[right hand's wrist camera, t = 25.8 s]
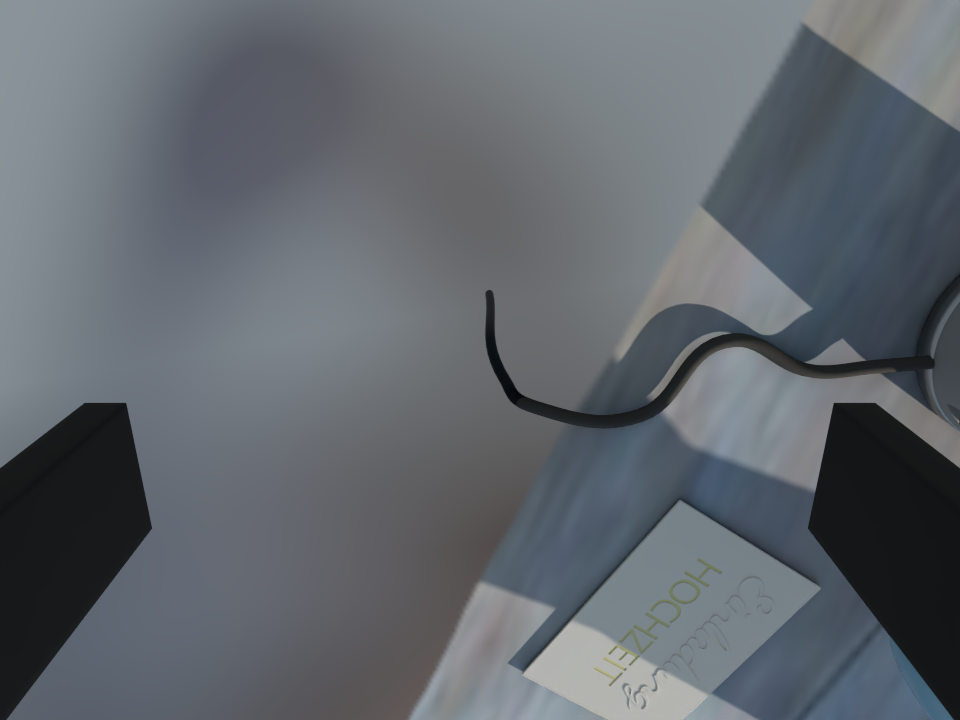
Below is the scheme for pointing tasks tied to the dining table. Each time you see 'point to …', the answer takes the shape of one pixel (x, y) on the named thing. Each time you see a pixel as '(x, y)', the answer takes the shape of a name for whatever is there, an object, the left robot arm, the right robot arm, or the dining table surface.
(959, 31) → the dining table surface
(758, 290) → the dining table surface
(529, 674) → the invitation card
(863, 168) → the dining table surface
